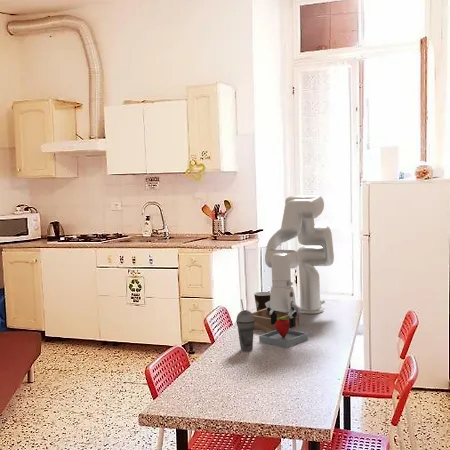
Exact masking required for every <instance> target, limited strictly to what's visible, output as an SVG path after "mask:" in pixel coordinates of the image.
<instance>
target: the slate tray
mask: <svg viewBox="0 0 450 450" xmlns="http://www.w3.org/2000/svg"><path fill="white" fill-rule="evenodd" d="M307 340H309V334H308V333H307V332H303V331H298V330H292V329H289V331H288V333H287V334H286V336H285V338H282V336H281V335H280V334H279V333H278V332H277V330H274V331H271V332H266V333H263V334H261V335H260V334H259V336H258V341H259V343H264V344H267V345H272V346H277V347H280V348H281V347H282V348H286V349H288V348H289V347H293V346H295V345H298V344H299V343H302V342H305V341H307Z"/></svg>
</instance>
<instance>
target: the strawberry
mask: <svg viewBox="0 0 450 450" xmlns="http://www.w3.org/2000/svg"><path fill="white" fill-rule="evenodd" d="M277 319H278V320H277V321H276V323H275V327H276V330H277V332H278V333H279V334H280V335H281V336H282V338H285V336H286V334H287V333H288V331H289V330H290V329H289V328H290V327H289V321H288V320H287V319H288V318H285V317H283V318H277Z"/></svg>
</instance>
